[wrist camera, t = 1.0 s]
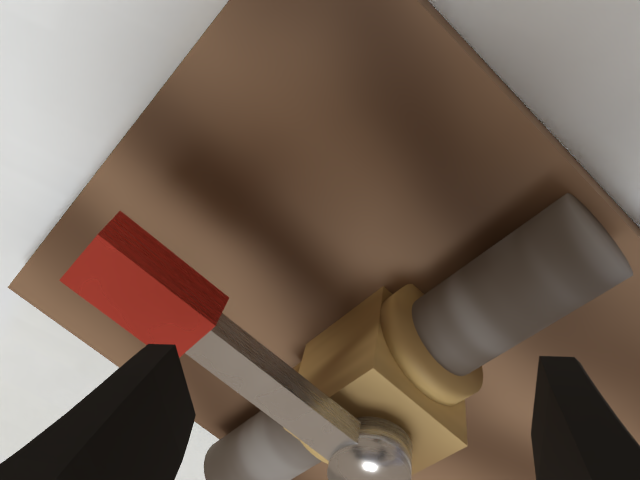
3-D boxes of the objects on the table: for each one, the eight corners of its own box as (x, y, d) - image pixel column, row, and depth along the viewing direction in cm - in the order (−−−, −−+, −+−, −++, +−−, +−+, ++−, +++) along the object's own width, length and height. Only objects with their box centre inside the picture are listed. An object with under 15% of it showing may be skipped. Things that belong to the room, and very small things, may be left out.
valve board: (323, -112, 16) (278, -106, 11) (788, 388, 21) (885, 529, 17) (29, 265, 24) (-66, 357, 20) (417, 551, 30) (414, 674, 25)
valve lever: (372, 481, 19) (368, 515, 18) (78, 258, 16) (55, 284, 15) (429, 450, 18) (428, 484, 17) (124, 205, 15) (101, 229, 14)
